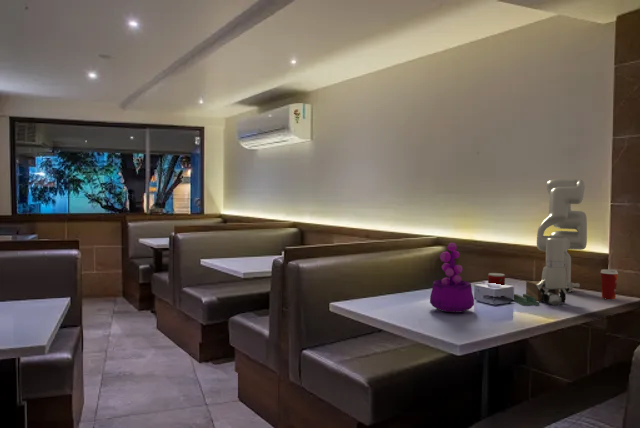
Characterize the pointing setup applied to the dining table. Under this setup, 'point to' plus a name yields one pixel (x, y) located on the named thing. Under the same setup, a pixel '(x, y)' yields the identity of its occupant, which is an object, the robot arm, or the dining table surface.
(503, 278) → the canned food
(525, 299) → the cradle
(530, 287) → the wooden box
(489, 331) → the dining table surface
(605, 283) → the paper cup
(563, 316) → the dining table surface
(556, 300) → the grey oblong lump
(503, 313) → the dining table surface
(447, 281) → the decorative plant
